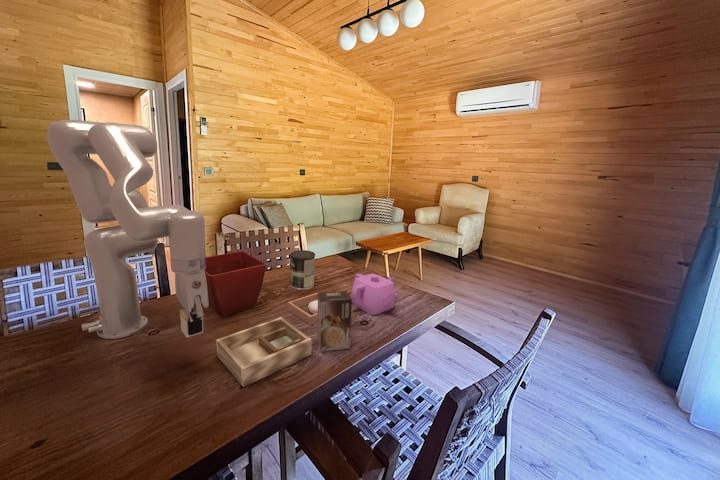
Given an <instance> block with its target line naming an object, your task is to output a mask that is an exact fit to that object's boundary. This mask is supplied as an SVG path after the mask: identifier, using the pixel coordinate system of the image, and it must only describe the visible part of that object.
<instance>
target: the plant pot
mask: <svg viewBox="0 0 720 480" xmlns="http://www.w3.org/2000/svg"><path fill="white" fill-rule="evenodd" d="M266 265H267V263H265V262H264V261H262V260H261V259H258V258H257V257H255V256H253V255H251V254H250V253H248V252H246V251H244V250H241V251H234V252H229V253H221V254H216V255H211V256H206V269H205V270H204V271H205V275H206V281H207V289H208V301H209V306H208V307H209V308H210V309H211V310H212V311H214V313H215V314H216V315H218V317H224V316H229V315H233V314H234V313H238V312H239V313H240V312H242V311H244V310H248V309H253V308H254V307H256V304H257V302H258V299H259V296H260V293H261V290H262V286H263V283H264V278H265V274H266V273H265V272H266V267H267V266H266Z"/></svg>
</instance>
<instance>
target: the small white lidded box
mask: <svg viewBox="0 0 720 480" xmlns="http://www.w3.org/2000/svg"><path fill="white" fill-rule="evenodd" d="M193 308H195V306H194V307H193ZM195 313H196V311H194V312H192V315H193V314H195ZM179 315H180V316H179V317H180V331H181V332H182V333H183V335H184V337H186V338H190V337H193V336H196V335H200V334H203V333H204V316H202V332H200V333H197V334H194V335H189V334H188V321H189V316H188V311H187V310H186V309H185V308H184V309H181V308H180V309H179Z"/></svg>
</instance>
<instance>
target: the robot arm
mask: <svg viewBox="0 0 720 480" xmlns="http://www.w3.org/2000/svg"><path fill="white" fill-rule="evenodd" d="M46 137H47V143H48V146H49V149H50V151H51V153H52V155H53V157H54V158H55V160H56V162H57V163H58V164H59V165H60V167H61V169H62V170H63V171H64V172H63V173H65V175H66V177H67V179H68V182H69V185H70V189H71V190H72V195H73V197H74V199H75V202H76V205H77V208H78V211H79V213H80V215H81V217H82V218H83V220H84V221H85V222H87V223H90V224H102V223H103V224H105V223H113V222H117V223H118V224H119V225H118V224H117V225H111V226H106V227H105V226H103V227H101V228H97V229H94V230H91V231H90V232H88V233H87V234H86V235H85V236H84V240H83V247H84V249H85V252H86V254H87V256H88V260H89V261H90V264H91V268H92V272H93V278H94V283H95V288H96V294H97V301H98V306H99V307H98V308H99V313H100V315H99V316H98V319H96V320H94V321H92V322H87V323H86V322H85V323H82V324H80V326H81V329H82V332H84V331H87V332H88V333H93V332H96V334H97V336H98V337H99V338H102V339H105V340H114V339H115V340H117V339H123V338H127V337H131V336H132V335H135V334H138V333H140V332H141V331H143V330H145V328H146V327H147V326H148V324H149V320H148V317H146V316H145V315H142V313H141V305H140V299H139V290H138V282H137V275H136V274H137V273H136V271H135V269H134V267H133V266H131V265H130V264H129V263H127V261H125V259H127V258H130V257H134V256H137V255H142V254H143V255H144V254H145V253H146V254H147V253H150V252H152V251H154V250H155V249H156V248H157V246H158V242H159V239H163V238H166V237H168V241H169V256H170V269H171V271H172V272H173V273H174V284H175V285H174V287H175V296H176V299H177V300H178V302H179V304H180V309H184V308H185V309H186V310H187V311H188V316H189V321H188V334H189V335H194V334H197V333H200V332H202V316H203V317H204V315H205V314H204V311H203V308H204V309H208V307H210V306H209V301H208V289H207V281H206V275H205V271H204V270H205V269H206V257H207V251H206V248H207V246H206V220H205V216H204V214H202V213H201V212H199V211H195V210H190V209H188V208H186V207H185V206H183V205H181V204H166V205H157V206H156V205H155V206H149V205H148V203H147V200H146V198H145V196H144V195H143V194H142V193H141V191H139V190H138V189H139V188H141V187H143V186H145V185H146V184H147V183H148V182H150V181H151V179H152V177H153V176H154V168H153V167H152V166H151V164H150V163H149V161H148V160H147V159H148V158H149V159H150V158H152V157H154V156H155V155H156V153H157V151H158V143H157V142H158V141H157V139H156V137H155V135H154V133H152V131H151V130H150V129H149V128H147V127H145V126H142V125H137V124H127V123H121V122H120V123H119V122H100V121H98V122H97V121H92V120H91V121H90V120H79V119H61V120H56V121H54V122H51V124H50V125H49V126H48V127H47V132H46ZM88 155H97V156H98V158H100V161H101V162H102V164H103V165H104V166H105V168H106V170H107V171H108V172H109V174H110V175H111V177H112V178H113V179H114V182H113V184H111V182H110V180H109V176H108V173H107V172H106V170H105V169H104V168H103V166H101V165H100V164H99V163H98V162H96V160H94V159H93V158H92V157H90V156H88ZM146 158H147V159H146ZM194 306H195V308H193V307H194ZM194 311H196V313H195V314H193V315H192V312H194ZM200 334H201V333H200ZM197 335H198V334H197ZM194 336H195V335H194Z"/></svg>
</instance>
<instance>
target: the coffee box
mask: <svg viewBox="0 0 720 480" xmlns="http://www.w3.org/2000/svg"><path fill="white" fill-rule="evenodd" d="M317 293H318V318H317V323H316V324H317V326H316V328H317V329H316V331H317V333H316V341H317V345H318V349H319V352H320V353H322V352H331V351H332V352H333V351H339V350H349V349H351V331H352V330H351V329H352V310H353V309H352V308H353V305H352V304H353V303H352V299H351V294H349V293H348V291H347V290H339V291H327V292H326V291H325V292H317Z"/></svg>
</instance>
